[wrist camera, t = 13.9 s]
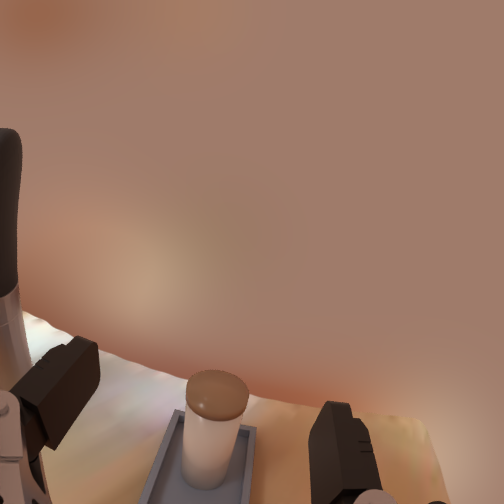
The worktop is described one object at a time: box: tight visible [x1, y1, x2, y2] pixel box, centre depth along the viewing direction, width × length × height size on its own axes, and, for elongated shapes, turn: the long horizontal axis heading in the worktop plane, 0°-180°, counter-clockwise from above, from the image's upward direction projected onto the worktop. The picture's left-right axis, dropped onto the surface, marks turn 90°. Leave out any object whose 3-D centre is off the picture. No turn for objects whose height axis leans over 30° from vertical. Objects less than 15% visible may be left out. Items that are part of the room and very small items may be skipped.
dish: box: [138, 409, 257, 504], centre depth 28 cm, size 11×16×2 cm
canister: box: [181, 370, 249, 490], centre depth 26 cm, size 5×5×14 cm
